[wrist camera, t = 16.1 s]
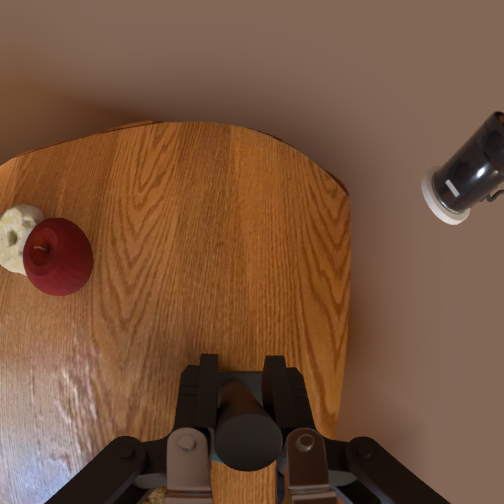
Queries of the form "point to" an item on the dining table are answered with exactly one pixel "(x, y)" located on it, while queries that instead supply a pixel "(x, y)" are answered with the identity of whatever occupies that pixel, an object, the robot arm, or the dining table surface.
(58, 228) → the apple
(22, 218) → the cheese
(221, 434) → the t-shaped mushroom stamp
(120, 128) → the dining table surface
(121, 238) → the dining table surface
